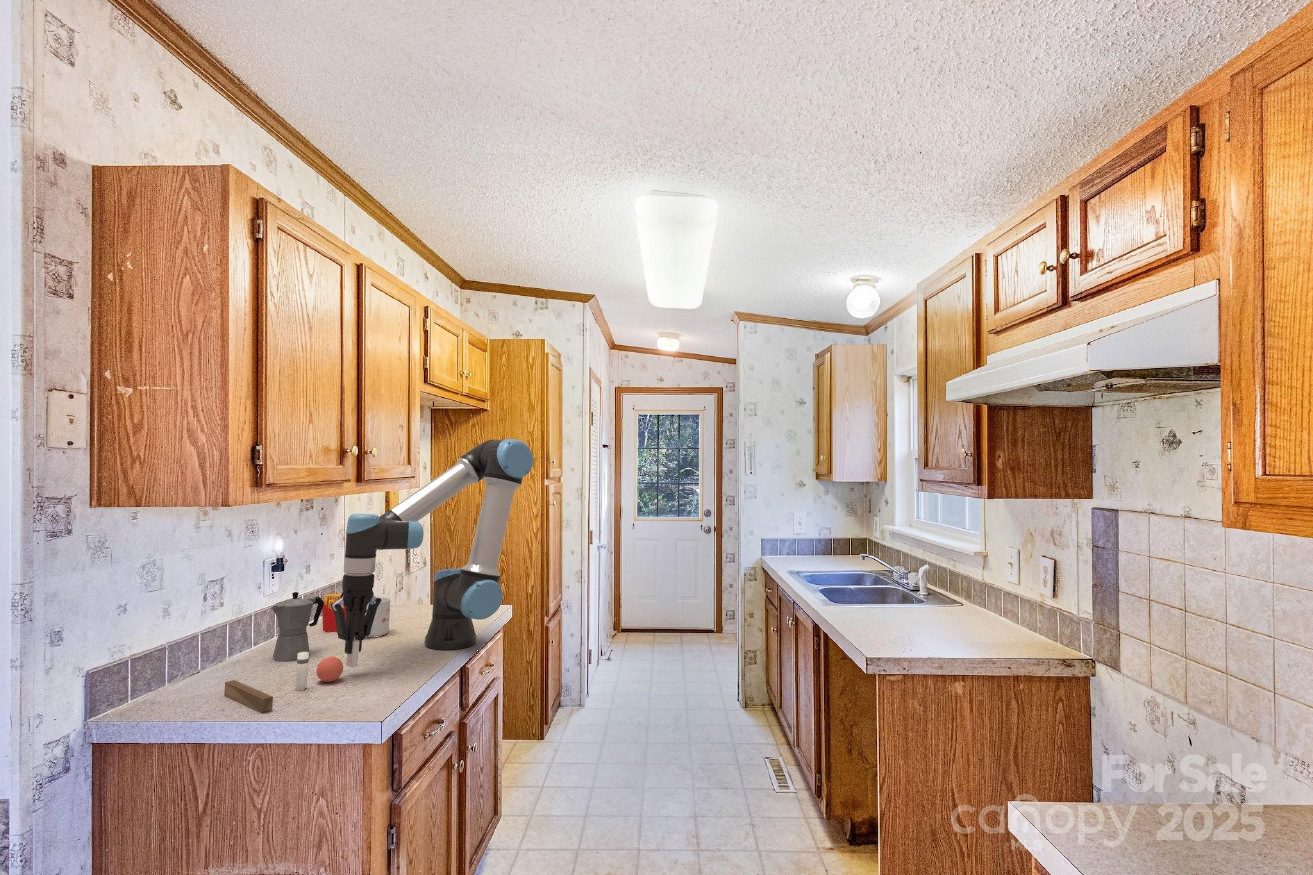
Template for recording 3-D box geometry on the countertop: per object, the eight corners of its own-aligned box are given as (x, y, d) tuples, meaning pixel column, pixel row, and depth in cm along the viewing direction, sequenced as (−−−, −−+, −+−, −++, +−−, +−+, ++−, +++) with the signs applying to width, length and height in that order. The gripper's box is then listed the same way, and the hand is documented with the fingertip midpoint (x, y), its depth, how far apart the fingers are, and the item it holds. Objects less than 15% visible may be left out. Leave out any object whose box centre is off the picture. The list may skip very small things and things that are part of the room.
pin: (303, 686, 158) (305, 651, 158) (309, 688, 156) (311, 652, 157) (293, 689, 156) (295, 653, 156) (298, 691, 154) (300, 655, 155)
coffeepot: (278, 665, 173) (282, 597, 174) (257, 659, 178) (262, 593, 179) (330, 652, 187) (334, 589, 188) (310, 647, 191) (314, 585, 192)
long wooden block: (233, 692, 152) (234, 679, 152) (272, 710, 142) (273, 696, 142) (224, 695, 150) (225, 681, 150) (262, 713, 140) (263, 699, 140)
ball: (317, 652, 163) (307, 677, 161) (330, 657, 159) (320, 682, 157) (338, 656, 167) (329, 680, 165) (351, 660, 164) (342, 685, 162)
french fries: (318, 632, 208) (321, 594, 209) (324, 629, 212) (326, 592, 213) (345, 632, 209) (347, 595, 209) (350, 629, 213) (352, 592, 213)
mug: (366, 630, 212) (368, 596, 213) (393, 631, 212) (395, 597, 213) (348, 640, 200) (350, 603, 201) (376, 641, 200) (378, 605, 201)
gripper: (373, 569, 176) (366, 657, 174) (326, 574, 165) (319, 668, 164) (390, 572, 172) (383, 663, 170) (343, 577, 161) (335, 674, 160)
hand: (351, 665), depth 167 cm, fingers closed
